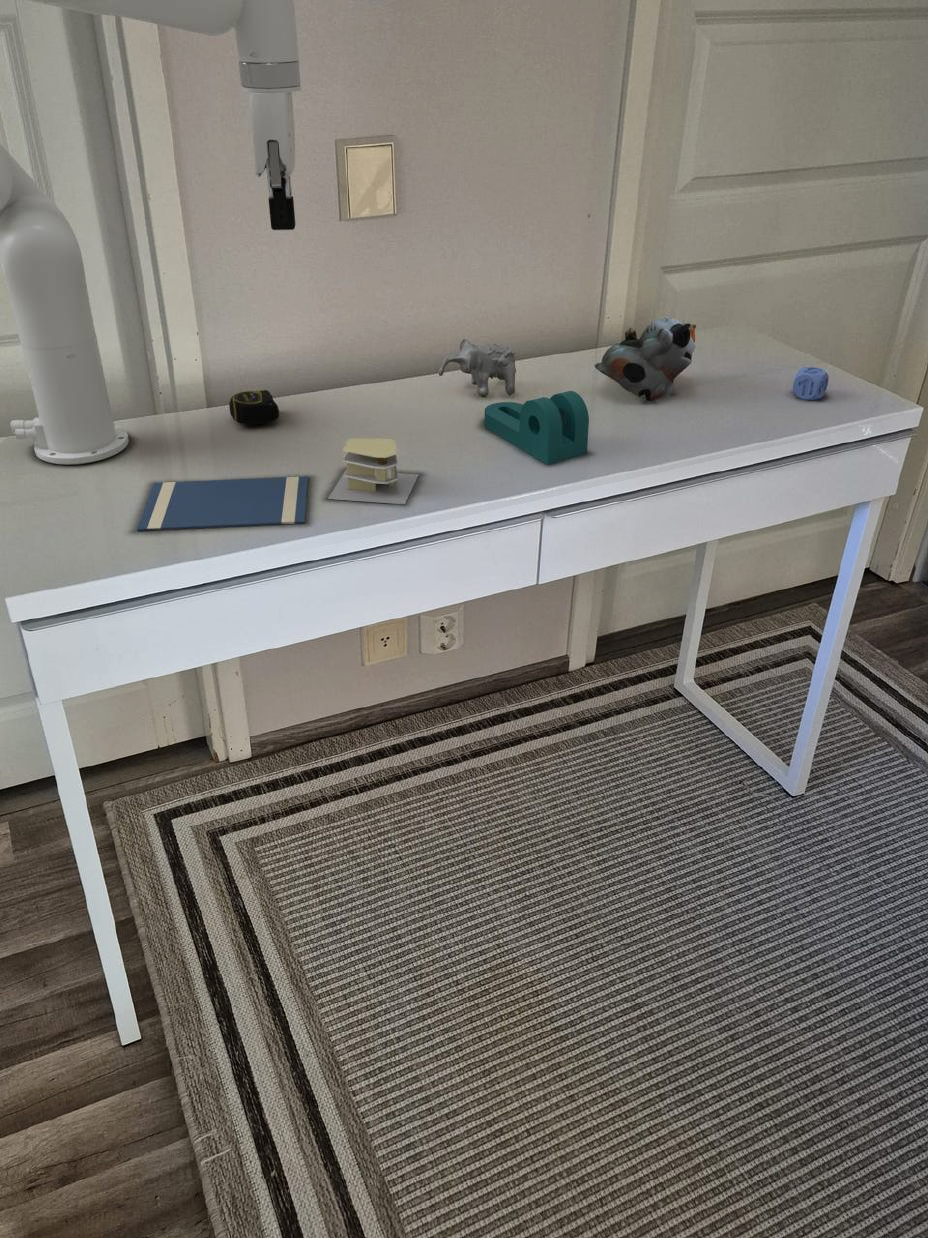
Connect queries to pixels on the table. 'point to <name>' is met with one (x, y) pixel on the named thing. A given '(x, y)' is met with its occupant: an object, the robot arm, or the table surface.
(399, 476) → the stacked layers on plate
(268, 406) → the tape measure
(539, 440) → the bracket
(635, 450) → the table surface
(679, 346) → the lucky cat figurine
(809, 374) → the decorative dice
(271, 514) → the cloth
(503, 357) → the gray elephant figurine
